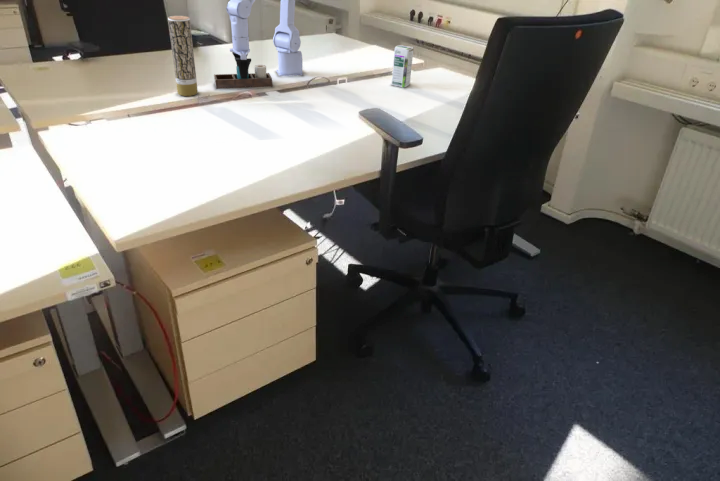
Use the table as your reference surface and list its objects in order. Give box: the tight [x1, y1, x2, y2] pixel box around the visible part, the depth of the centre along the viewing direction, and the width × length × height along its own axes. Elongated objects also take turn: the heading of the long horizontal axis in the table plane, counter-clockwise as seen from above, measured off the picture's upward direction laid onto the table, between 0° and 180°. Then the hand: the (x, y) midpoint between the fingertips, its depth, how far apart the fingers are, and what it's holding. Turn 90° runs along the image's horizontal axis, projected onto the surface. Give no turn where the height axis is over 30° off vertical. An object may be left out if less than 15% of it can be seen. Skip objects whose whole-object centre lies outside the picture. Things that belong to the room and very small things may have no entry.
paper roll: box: [235, 65, 250, 79], centre depth 196 cm, size 4×4×6 cm
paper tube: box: [167, 15, 199, 97], centre depth 181 cm, size 7×7×25 cm
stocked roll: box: [254, 64, 267, 78], centre depth 198 cm, size 4×4×6 cm
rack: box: [213, 72, 273, 90], centre depth 198 cm, size 20×7×4 cm, turn 107°
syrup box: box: [390, 44, 414, 88], centre depth 206 cm, size 6×6×14 cm
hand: (242, 75), depth 196 cm, fingers open, 7 cm apart
